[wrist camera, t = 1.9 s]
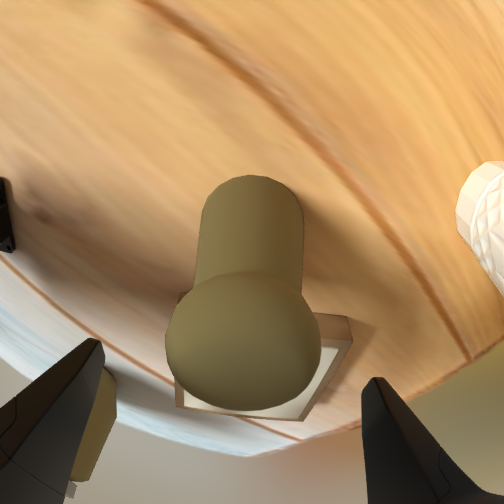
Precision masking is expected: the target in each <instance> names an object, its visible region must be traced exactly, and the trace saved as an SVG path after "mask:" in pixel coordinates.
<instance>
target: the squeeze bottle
mask: <svg viewBox="0 0 504 504" xmlns="http://www.w3.org/2000/svg"><path fill="white" fill-rule="evenodd" d="M116 418H117V409H116V381H115V380H114V378H113V377H112V375H111V374H110V373H108V372H107V371H106V370H105V369H104V368H103V370H102V374H101V378H100V382H99V386H98V390H97V395H96V398H95V402H94V405H93V408H92V410H91V413H90V416H89V419H88V422H87V425H86V428H85V431H84V434H83V437H82V440H81V443H80V446H79V449H78V452H77V455H76V459H75V462H74V465H73V469H72V472H71V476H70V479H69V483H68V487H67V490H66V494H65V496H66V497H69V498H74V494H75V491H76V487H77V485H76V484H75V483H73V482H72V481H75V482H84V481H88V480H89V479H90V476H91V474H92V472H93V469H94V467H95V465H96V462H97V460H98V457H99V455H100V453H101V451H102V448H103V446H104V444H105V442H106V440H107V437H108V435H109V433H110V431H111V428H112V426H113V424H114V422H115V420H116Z"/></svg>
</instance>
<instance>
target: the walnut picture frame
mask: <svg viewBox="0 0 504 504" xmlns="http://www.w3.org/2000/svg"><path fill="white" fill-rule="evenodd" d="M185 295H186V294H184V293H181V294H180V297H179V300H178V303H179V302H180V301H181V300H182V299H183V297H184V296H185ZM178 303H177V305H178ZM312 313H313V312H312ZM313 315H314V316H315V318H316V320H317V321H318V325H319V330H320V335H321V349H322V352H321V358H320V364H319V366H318V369H317V371H316V373H315V375H314V377H313V379H312V381H311V382H310V384H309V385H308V387H307V388H306V389H305V390H304V391H303V392H302V393H301V394H300V395H299V396H298V397H296V398H295V399H293V400H291V401H289V402H287V403H284V404H282V405H280V406H277V407H273V408H269V409H265V410H259V411H235V410H227V409H223V408H219V407H215V406H212V405H210V404H208V403H206V402H204V401H201V400H199V399H197V398H195V397H193V396H192V395H191V394H189V393H188V392H187V391H186V390H184V389H183V388H182V387H181V386H180V385H179V383H178V382H177V380H176V379H175V377H174V380H175V398H176V407H179V408H184V409H190V410H195V411H201V412H207V413H214V414H221V415H229V416H237V417H246V418H255V419H267V420H281V421H302V422H303V421H304V420H305V418H306V417H307V415H308V414H309V412H310V411H311V409H312V408H313V406H314V405H315V403H316V402H317V400H318V399H319V397H320V396H321V394H322V393H323V391H324V389H325V388H326V386H327V385H328V383H329V381H330V380H331V378H332V377H333V375H334V373H335V372H336V370H337V368H338V367H339V365H340V363H341V362H342V360H343V358H344V356H345V355H346V353H347V351H348V349H349V348H350V346H351V344H352V342H353V338H352V335H351V331H350V328H349V324H348V320H347V317H346V316H339V315H330V314H321V313H313Z"/></svg>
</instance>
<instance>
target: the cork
mask: <svg viewBox="0 0 504 504" xmlns="http://www.w3.org/2000/svg"><path fill="white" fill-rule="evenodd" d="M303 243H304V220H303V212H302V208H301V206H300V204H299V202H298V200H297V199H296V197H295V195H294V194H293V193H292V192H291V191H290V190H289V189H288V188H286V187H285V186H284V185H283V184H282V183H279V182H277V181H275V180H273V179H271V178H268V177H264V176H255V175H246V176H241V177H236V178H232V179H230V180H228V181H227V182H225V183H223V184H221V185H219V186H218V187H217V188H216V189H215V190H214V191H213V193H212V194H211V195H210V196H209V197H208V198H207V201H206V203H205V206H204V208H203V210H202V216H201V224H200V232H199V241H198V250H197V259H196V269H195V279H194V287H193V288H192V289H191V290H190V291H189V292H188V293H187V294H186V295H185V296H184V297H183V299H182V300H181V301H180V302H179V303H178V305H177V306H176V307H175V310H174V313H173V315H172V318H171V321H170V323H169V326H168V329H167V332H166V335H165V348H166V355H167V362H168V365H169V367H170V370H171V372H172V374H173V376H174V377H175V379H176V380H177V382H178V383H179V385H180V386H181V387H182V388H183V389H184V390H186V391H187V392H188V393H189V394H191V395H192V396H193V397H195V398H197V399H199V400H201V401H204V402H206V403H208V404H210V405H212V406H215V407H219V408H223V409H227V410H235V411H259V410H265V409H269V408H273V407H277V406H280V405H282V404H284V403H287V402H289V401H291V400H293V399H295V398H296V397H298V396H299V395H300V394H301V393H302V392H303V391H304V390H305V389H306V388H307V387H308V385H309V384H310V382H311V381H312V379H313V377H314V375H315V373H316V371H317V369H318V366H319V364H320V358H321V352H322V349H321V335H320V330H319V325H318V321H317V320H316V318H315V316H314V315H313V313H312V311H311V309H310V308H309V306H308V304H307V303H306V301H305V299H304V298H303V296H302V295H301V290H302V269H303Z"/></svg>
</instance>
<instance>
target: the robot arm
mask: <svg viewBox="0 0 504 504" xmlns="http://www.w3.org/2000/svg"><path fill="white" fill-rule="evenodd" d="M15 249H16V248H15V243H14V239H13V234H12V230H11V225H10V220H9V215H8V209H7V203H6V197H5V190H4V183H3V180H2V178H1V177H0V251H3V252H7V253H12V252H13V251H15ZM104 363H105V354H104V350H103V347H102V343H101V341H100V340H97V339H94V338H88V339H86V340H85V341H84V342H82V343H81V344H80V345H78V346H77V347H76V348H75V349H73V350H72V351H71V352H69V353H68V354H67V355H66V356H64V357H63V358H62V359H61V360H59V361H58V362H57V363H56V364H54V365H53V366H52V367H51V368H49V369H48V370H47V371H46V372H44V373H43V374H42V375H41V376H39V377H38V378H37V379H36V380H34V381H33V382H32V383H31V384H29V385H28V386H27V387H26V388H25V389H23V390H22V391H21V392H20V393H19V394H17V395H16V397H14V398H12V399H11V400H10V401H9V402H8V403H6V404H5V405H4V406H2V407H1V408H0V504H63V502H64V498H65V494H66V490H67V487H68V483H69V479H70V476H71V472H72V469H73V465H74V462H75V459H76V455H77V452H78V449H79V446H80V443H81V440H82V437H83V434H84V431H85V428H86V425H87V422H88V419H89V416H90V413H91V410H92V408H93V405H94V402H95V398H96V395H97V390H98V386H99V382H100V378H101V374H102V370H103V367H104ZM361 409H362V439H363V449H364V459H365V470H366V481H367V495H368V504H504V496H501V495H496V494H492V493H489V492H486V491H484V490H482V489H481V488H480V487H478V486H477V485H476V484H475V483H474V482H473V481H472V480H471V479H470V478H469V477H468V476H467V475H466V474H465V473H464V472H463V471H462V470H461V469H460V468H459V467H458V466H457V464H456V463H454V461H453V460H452V459H451V458H450V457H449V456H448V454H447V453H446V452H445V451H444V449H443V448H442V447H440V445H439V443H438V442H437V441H436V440H435V438H434V437H433V436H432V435H431V434H430V433H429V431H428V430H427V429H426V428H425V426H424V425H423V424H422V423H421V421H420V420H419V419H418V418H417V417H416V415H414V413H413V412H412V411H411V410H410V408H409V407H408V406H407V405H406V403H405V402H404V401H403V400H402V399H401V397H400V396H399V395H398V394H397V393H396V391H395V390H394V389H393V388H392V387H391V385H390V384H389V383H388V382H387V381H386V379H384V378H383V377H373V378H371V380H370V381H369V382H368V384H367V385H366V386H365V388H364V389H363V391H362V394H361Z"/></svg>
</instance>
